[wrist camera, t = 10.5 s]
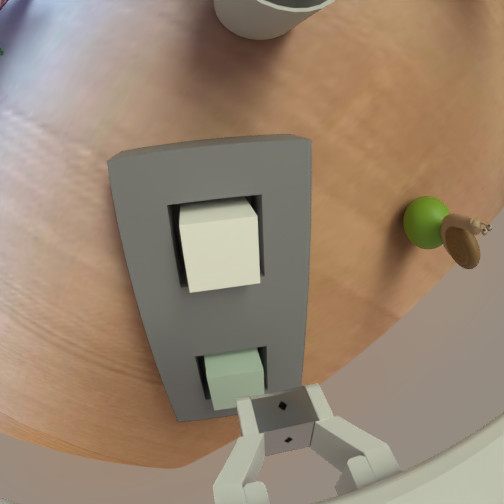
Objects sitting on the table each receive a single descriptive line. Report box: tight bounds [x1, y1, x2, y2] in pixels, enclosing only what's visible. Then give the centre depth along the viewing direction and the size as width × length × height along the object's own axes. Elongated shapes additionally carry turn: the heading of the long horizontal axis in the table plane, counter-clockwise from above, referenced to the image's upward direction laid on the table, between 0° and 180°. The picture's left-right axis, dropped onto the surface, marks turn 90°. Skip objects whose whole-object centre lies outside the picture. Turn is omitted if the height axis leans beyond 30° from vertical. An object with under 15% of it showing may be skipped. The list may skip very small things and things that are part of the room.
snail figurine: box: [403, 196, 492, 269], centre depth 26 cm, size 5×6×12 cm
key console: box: [107, 134, 312, 422], centre depth 28 cm, size 14×28×5 cm, turn 3°
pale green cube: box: [204, 348, 264, 410], centre depth 29 cm, size 5×5×5 cm
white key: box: [179, 196, 260, 293], centre depth 23 cm, size 5×5×5 cm
